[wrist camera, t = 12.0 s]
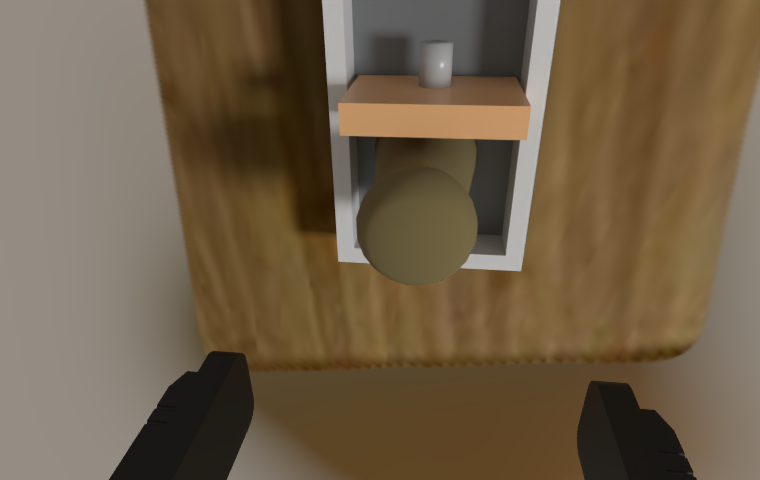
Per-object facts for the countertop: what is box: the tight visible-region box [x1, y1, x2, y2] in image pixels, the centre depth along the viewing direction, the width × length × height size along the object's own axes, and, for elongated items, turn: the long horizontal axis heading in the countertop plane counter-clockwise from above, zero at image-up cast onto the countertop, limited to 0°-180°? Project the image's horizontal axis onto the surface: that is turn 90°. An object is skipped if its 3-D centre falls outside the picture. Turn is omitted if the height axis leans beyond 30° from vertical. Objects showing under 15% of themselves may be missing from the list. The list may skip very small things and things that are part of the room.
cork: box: [356, 137, 478, 285], centre depth 25 cm, size 6×6×11 cm
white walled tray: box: [322, 0, 561, 271], centre depth 27 cm, size 18×12×5 cm, turn 1°
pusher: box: [338, 40, 531, 140], centre depth 25 cm, size 4×8×6 cm, turn 91°
